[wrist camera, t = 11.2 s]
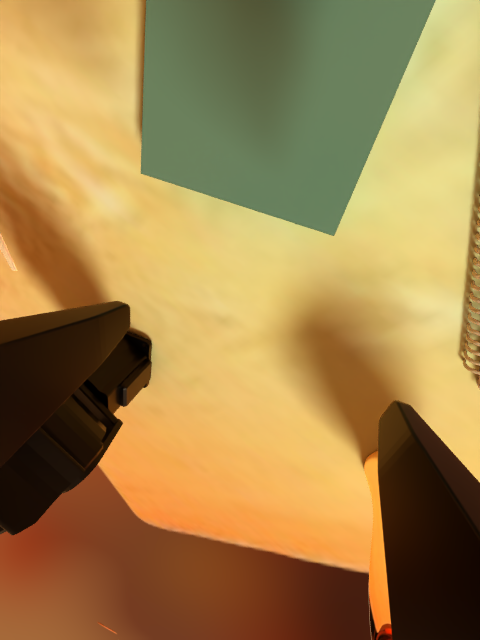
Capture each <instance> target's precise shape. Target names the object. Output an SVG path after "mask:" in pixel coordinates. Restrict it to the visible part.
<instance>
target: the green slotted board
mask: <svg viewBox="0 0 480 640" xmlns="http://www.w3.org/2000/svg"><path fill="white" fill-rule="evenodd" d="M434 3H435V0H146V21H145V53H144V85H143V117H142V149H141V174H144V175H147V176H150V177H153V178H157V179H160V180H163V181H166V182H169V183H172V184H175V185H178V186H181V187H184V188H187V189H190V190H194V191H197V192H200V193H203V194H206V195H209V196H212V197H215V198H218V199H221V200H224V201H228V202H231V203H234V204H237V205H240V206H243V207H246V208H249V209H252V210H255V211H258V212H261V213H265V214H268V215H271V216H274V217H277V218H280V219H283V220H286V221H289V222H292V223H295V224H299V225H302V226H305V227H308V228H311V229H314V230H317V231H320V232H323V233H326V234H329V235H333V236H334V235H335V232H336V230H337V228H338V225H339V223H340V221H341V219H342V216H343V214H344V212H345V209H346V207H347V205H348V202H349V200H350V198H351V195H352V193H353V191H354V188H355V186H356V184H357V181H358V179H359V177H360V174H361V172H362V170H363V167H364V165H365V163H366V161H367V158H368V156H369V154H370V151H371V149H372V147H373V144H374V142H375V140H376V137H377V135H378V133H379V130H380V128H381V126H382V123H383V121H384V119H385V116H386V114H387V112H388V109H389V107H390V105H391V103H392V100H393V98H394V96H395V93H396V91H397V89H398V86H399V84H400V82H401V79H402V77H403V75H404V72H405V70H406V68H407V65H408V63H409V61H410V58H411V56H412V54H413V51H414V49H415V47H416V45H417V42H418V40H419V38H420V35H421V33H422V31H423V28H424V26H425V24H426V21H427V19H428V17H429V14H430V12H431V10H432V7H433V5H434Z"/></svg>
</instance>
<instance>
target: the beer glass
mask: <svg viewBox="0 0 480 640" xmlns="http://www.w3.org/2000/svg"><path fill="white" fill-rule="evenodd" d="M364 471H365V475H366V479H367V482H368V486H369V489H370V493H371V497H372V504H373V528H372V541H371V553H370V567H369V613H370V629H371V640H392V630H391V619H390V608H389V596H388V585H387V574H386V563H385V551H384V540H383V529H382V518H381V507H380V495H379V484H378V451H376V452H374V453H372V454H371V455H369V456H368V457H367V459H366V460H365V464H364Z"/></svg>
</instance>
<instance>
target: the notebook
mask: <svg viewBox="0 0 480 640" xmlns="http://www.w3.org/2000/svg"><path fill="white" fill-rule="evenodd" d="M479 196H480V195H479ZM478 210H479V212H480V206H479V208H478ZM477 225H478V226H479V227H480V219H478V221H477ZM475 237H476V238H477V240H480V234H479V233H477V234H476V236H475ZM474 250H475V252H476V253H479V254H480V248H478V245H476V246H475V248H474ZM473 263H474V264H475V265H476V266H479V267H480V262H479V261H477V258H474V260H473ZM472 275H473V276H474V277H475V278H477V279H480V274H477V273H476V271H475V270H474V269H473V271H472ZM471 287H472V288H473V289H475V290H477V291H480V287H478V286H476V285H475V283H474V281H472V282H471ZM470 298H471V299H472V300H473V301H475V302H478V303H480V298H477V297H474V296H473V292H471V293H470ZM469 308H470V310H471V311H472V312H475V313H478V314H480V310H479V309H476V308H474V307H472V303H471V302H470V304H469ZM468 319H469V320H470V321H471V322H472V323H474V324H477V325H480V321H478V320H476V319H474V318H472V317H471V313H469V314H468ZM467 329H468V330H469V331H470V332H471V333H473V334H476V335H478V336H480V332H479V331H477V330H474V329H472V328H471V327H470V323H467ZM466 338H467V340H468V341H469V342H471V343H472V344H475V345H477V346H480V342H478V341H475V340H472V339H471V338H470V337H469V332H467V333H466ZM465 348H466V349H467V350H468V351H469V352H471V353H473V354H475V355H478V356H480V352H477V351H475V350H472V349H470V348H469V346H468V342H466V343H465ZM464 356H465V358H466V359H464V361H463V365H464V367H465V368H466V369H467V370H469V371H471V372H473V373H474V374H478V383H477V386H478V388H480V368H479V371H477V370H475V369H472V368H471V367H469V366H468V365H467V364H466V360H468V361H469V362H471V363H473V364H475V365H479V366H480V362H479V361H475V360H473V359H471V358H470V357H468V355H467V351H465V352H464Z"/></svg>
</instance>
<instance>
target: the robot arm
mask: <svg viewBox="0 0 480 640" xmlns="http://www.w3.org/2000/svg"><path fill="white" fill-rule="evenodd" d="M129 328H130V307H129V305H128V304H125V303H123V302H120V301H114V302H108V303H102V304H96V305H91V306H85V307H79V308H73V309H67V310H61V311H55V312H49V313H43V314H37V315H31V316H25V317H19V318H13V319H7V320H2V321H0V534H2V533H4V532H6V531H7V532H8V533H10V534H11V535H15V534H17V533H19V532H21V531H23V530H24V529H26V528H28V527H30V526H31V525H33V524H35V523H36V522H37V521H38V520H39V518H40V517H41V516H42V515H43V514H44V513H45V511H46V510H47V509H48V508H49V507H50V506H51V505H52V503H53V502H54V501H55V500H56V499H57V498H58V497H59V496H60V495H61V494H62V493H65V492H67V491H69V490H71V489H73V488H74V487H75V486H77V485H78V484H79V483H80V482H81V481H82V480H84V478H86V477H87V476H88V475H89V474H90V472H91V471H92V470H93V469H94V468H95V467H96V465H97V464H98V463H99V461H100V460H101V458H102V457H103V455H104V453H105V452H106V450H107V449H108V447H109V445H110V444H111V442H112V440H113V439H114V437H115V436H116V434H117V432H118V431H119V429H120V427H121V426H122V424H123V422H122V421H121V420H120V419H117V418H116V417H115V416H114V413H115V411H116V410H117V409H118V408H119V407H120V406H123V407H125V406H127V405H128V404H129V403H130V402H131V401H132V399H133V398H134V397H135V396H136V395H137V394H138V393H139V391H140V390H141V389H142V388H146V387H147V386H148V385H149V380H150V377H151V364H152V362H151V349H152V343H151V342H150V341H149V340H148V339H145V338H143V337H140V336H138V335H136V334H133V333H131V332H128V330H129ZM378 484H379V495H380V507H381V518H382V529H383V540H384V551H385V563H386V574H387V585H388V596H389V608H390V619H391V630H392V640H480V483H479V481H478V480H477V479H476V478H475V477H474V476H473V475H472V474H471V473H470V471H469V470H468V469H467V468H466V467H465V466H464V465H463V464H462V462H461V461H460V460H459V459H458V458H457V457H456V456H455V455H454V454H453V452H452V451H451V450H450V449H449V448H448V447H447V446H446V445H445V444H444V442H443V441H442V440H441V439H440V438H439V437H438V436H437V435H436V434H435V432H434V431H433V430H432V429H431V428H430V427H429V426H428V425H427V424H426V422H425V421H424V420H423V419H422V418H421V417H420V416H419V415H418V413H417V412H416V411H415V410H414V409H413V408H412V407H411V406H410V405H408V404H406V403H403V402H400V401H397V400H396V401H393V402H392V403H391V404H390V406H389V407H388V408H387V410H386V411H385V412H384V414H383V415H382V416H381V418H380V421H379V433H378Z"/></svg>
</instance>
